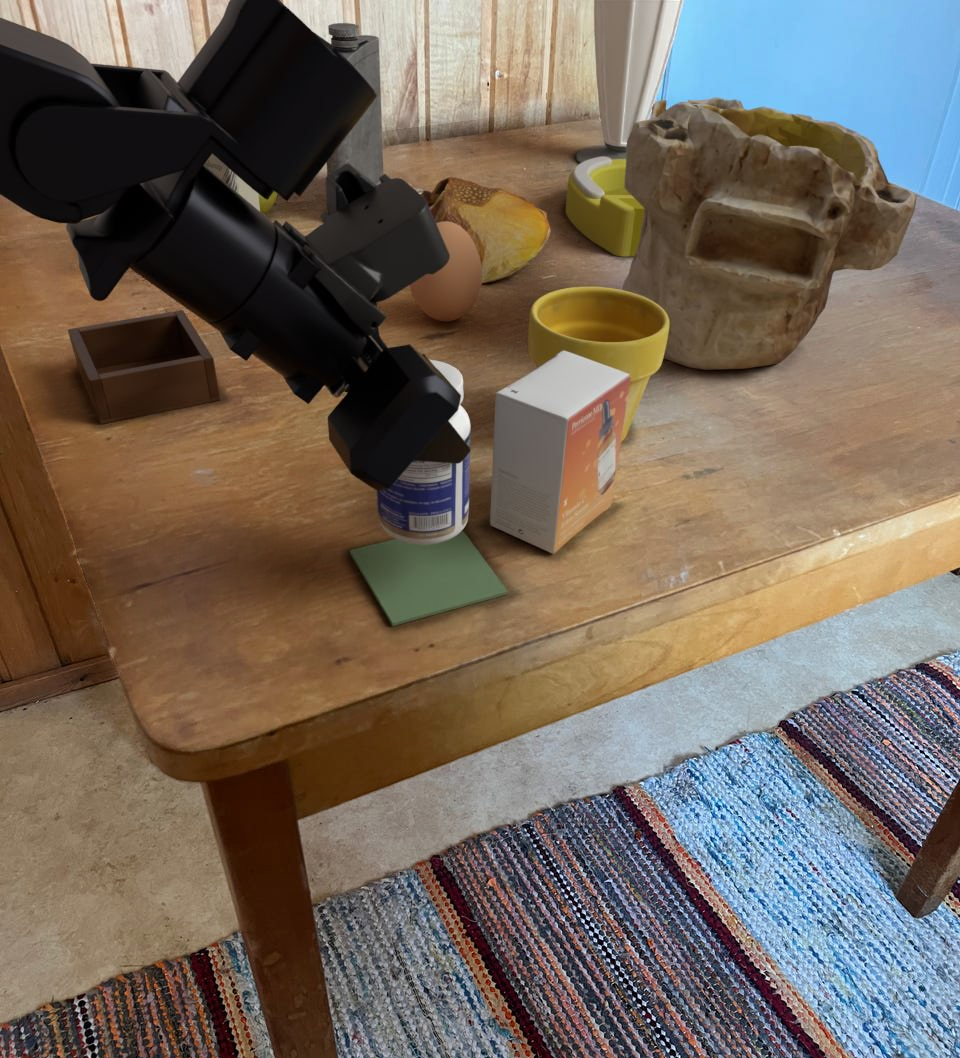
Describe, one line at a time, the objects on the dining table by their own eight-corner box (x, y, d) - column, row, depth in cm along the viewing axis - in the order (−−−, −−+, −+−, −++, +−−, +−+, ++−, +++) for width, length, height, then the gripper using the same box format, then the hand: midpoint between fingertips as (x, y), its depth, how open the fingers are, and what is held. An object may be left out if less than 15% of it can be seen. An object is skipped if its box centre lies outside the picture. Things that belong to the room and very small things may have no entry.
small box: (553, 557, 67) (566, 420, 60) (487, 526, 69) (493, 391, 62) (614, 505, 72) (634, 372, 64) (551, 477, 74) (563, 347, 67)
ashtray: (582, 256, 105) (586, 208, 102) (557, 190, 121) (560, 146, 117) (731, 256, 107) (741, 209, 103) (688, 191, 122) (695, 147, 118)
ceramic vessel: (895, 207, 95) (980, 1, 71) (835, 438, 93) (902, 305, 68) (666, 170, 100) (672, -35, 76) (602, 389, 97) (587, 249, 73)
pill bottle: (413, 485, 65) (412, 344, 58) (485, 515, 63) (492, 372, 56) (359, 527, 61) (351, 381, 55) (433, 560, 59) (435, 413, 52)
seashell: (566, 195, 107) (542, 219, 95) (551, 266, 111) (525, 298, 99) (421, 158, 108) (379, 177, 96) (411, 229, 112) (369, 256, 100)
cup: (607, 179, 124) (630, -25, 109) (559, 153, 131) (574, -42, 117) (680, 167, 128) (711, -30, 114) (629, 142, 136) (652, -46, 121)
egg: (444, 341, 90) (445, 243, 84) (394, 317, 93) (392, 221, 87) (495, 319, 94) (499, 224, 87) (445, 297, 97) (446, 203, 91)
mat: (392, 626, 61) (392, 622, 61) (350, 553, 66) (349, 550, 66) (507, 594, 64) (507, 591, 64) (457, 526, 69) (458, 523, 69)
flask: (320, 221, 111) (306, 38, 98) (358, 180, 121) (349, 10, 109) (351, 225, 110) (341, 41, 98) (386, 183, 120) (381, 12, 108)
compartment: (101, 424, 78) (89, 380, 75) (78, 371, 84) (67, 328, 81) (220, 400, 81) (213, 357, 78) (190, 350, 87) (183, 309, 85)
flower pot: (584, 384, 85) (597, 272, 78) (676, 433, 79) (699, 318, 72) (496, 423, 80) (501, 307, 73) (587, 478, 74) (603, 358, 67)
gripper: (420, 199, 39) (620, 400, 50) (285, 81, 51) (470, 264, 63) (249, 411, 42) (474, 557, 53) (159, 251, 54) (358, 397, 65)
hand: (444, 430), depth 58 cm, fingers closed on pill bottle, 6 cm apart
